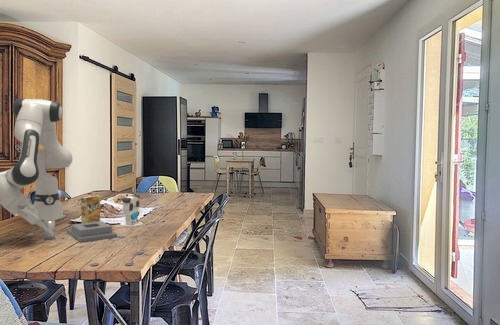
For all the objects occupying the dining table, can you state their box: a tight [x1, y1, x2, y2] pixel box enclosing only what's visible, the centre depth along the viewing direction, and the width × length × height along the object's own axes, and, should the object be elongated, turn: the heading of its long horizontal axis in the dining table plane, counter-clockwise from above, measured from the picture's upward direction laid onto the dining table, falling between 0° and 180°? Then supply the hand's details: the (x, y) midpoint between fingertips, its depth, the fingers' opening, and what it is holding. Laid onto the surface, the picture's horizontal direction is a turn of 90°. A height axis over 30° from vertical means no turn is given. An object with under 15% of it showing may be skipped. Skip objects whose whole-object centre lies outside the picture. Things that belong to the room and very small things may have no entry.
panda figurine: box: [120, 194, 143, 228], centre depth 207 cm, size 12×11×15 cm
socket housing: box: [66, 220, 118, 244], centre depth 184 cm, size 22×16×4 cm
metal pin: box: [43, 220, 56, 241], centre depth 176 cm, size 4×4×8 cm
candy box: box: [80, 195, 101, 224], centre depth 203 cm, size 9×4×15 cm, turn 150°
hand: (44, 224), depth 175 cm, fingers open, 8 cm apart
